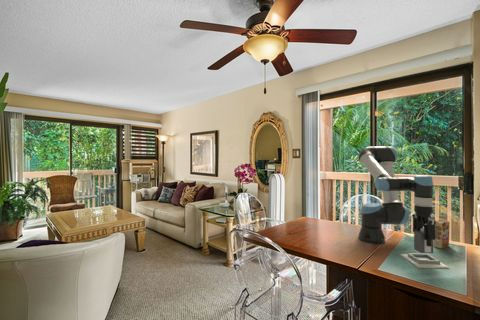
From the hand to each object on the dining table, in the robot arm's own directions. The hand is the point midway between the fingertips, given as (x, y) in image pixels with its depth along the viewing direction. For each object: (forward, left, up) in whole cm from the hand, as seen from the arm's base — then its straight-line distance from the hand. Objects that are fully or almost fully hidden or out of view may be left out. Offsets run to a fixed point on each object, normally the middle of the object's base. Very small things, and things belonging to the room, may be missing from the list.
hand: (423, 249), depth 119 cm
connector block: (0, 0, -1) cm, 1 cm away
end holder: (0, 0, -6) cm, 6 cm away
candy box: (-21, +25, -6) cm, 33 cm away
